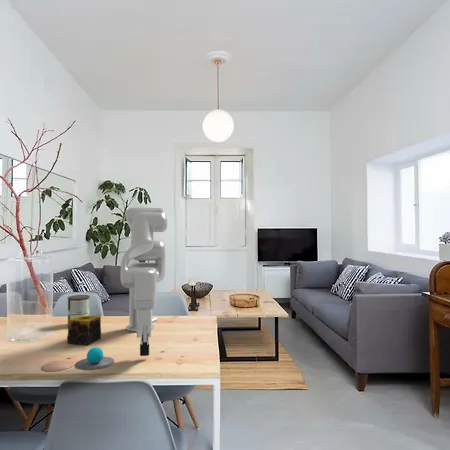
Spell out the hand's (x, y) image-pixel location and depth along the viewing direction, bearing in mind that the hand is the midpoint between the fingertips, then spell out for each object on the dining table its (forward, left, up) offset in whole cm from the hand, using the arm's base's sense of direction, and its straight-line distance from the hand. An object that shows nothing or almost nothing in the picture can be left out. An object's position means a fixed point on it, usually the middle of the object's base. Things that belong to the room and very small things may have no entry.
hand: (144, 355), depth 134 cm
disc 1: (+24, -17, -2) cm, 29 cm away
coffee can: (-10, -68, -2) cm, 68 cm away
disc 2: (+14, -10, -2) cm, 17 cm away
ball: (+14, -10, +1) cm, 17 cm away
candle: (+3, -38, -2) cm, 38 cm away
